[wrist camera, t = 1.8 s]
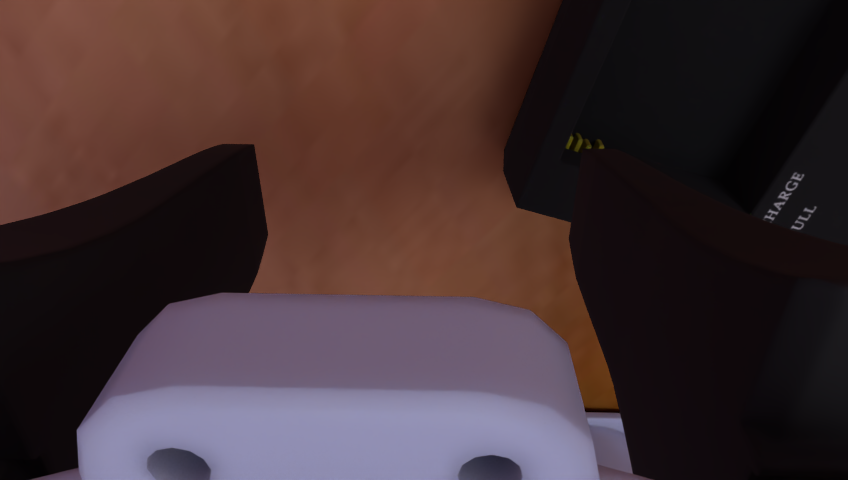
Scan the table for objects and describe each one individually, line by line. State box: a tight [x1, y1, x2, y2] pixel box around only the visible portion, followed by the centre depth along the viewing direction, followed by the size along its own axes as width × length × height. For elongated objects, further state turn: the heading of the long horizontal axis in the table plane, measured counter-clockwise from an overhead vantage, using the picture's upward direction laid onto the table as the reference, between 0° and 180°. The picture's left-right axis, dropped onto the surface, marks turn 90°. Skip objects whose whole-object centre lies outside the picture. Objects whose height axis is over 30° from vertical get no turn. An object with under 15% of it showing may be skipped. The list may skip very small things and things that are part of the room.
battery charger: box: [503, 0, 848, 246], centre depth 17 cm, size 13×10×4 cm
